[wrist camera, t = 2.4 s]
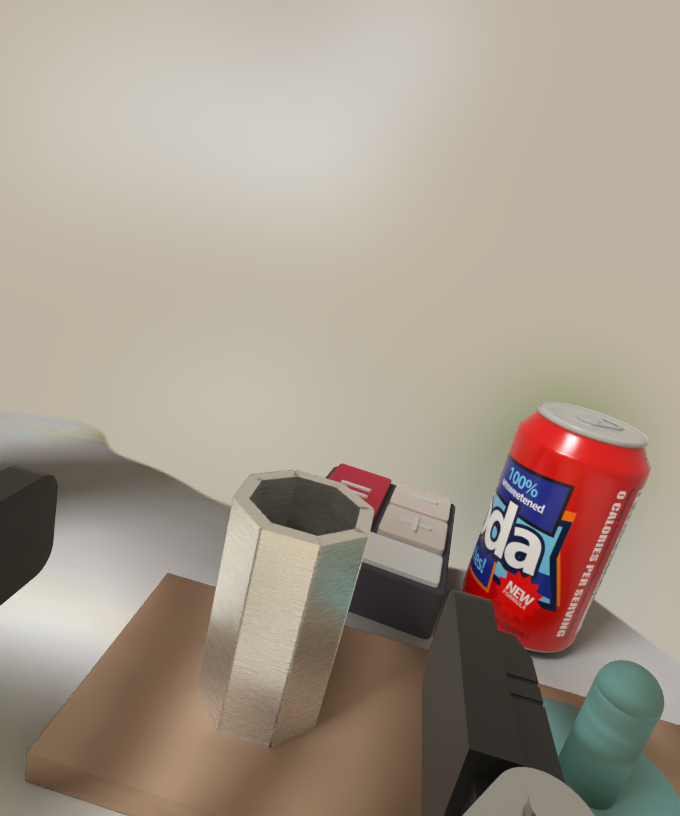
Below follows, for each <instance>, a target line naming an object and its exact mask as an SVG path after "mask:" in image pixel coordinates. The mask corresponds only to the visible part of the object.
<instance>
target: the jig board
mask: <svg viewBox="0 0 680 816" xmlns="http://www.w3.org/2000/svg"><path fill="white" fill-rule="evenodd" d="M215 590H216V587H213V586H210V585H206V584H203V583H200V582H196V581H193V580H190V579H186V578H183V577H180V576H176V575H173V574H170V573H167V574H166V576H165V577H164V578H163V579H162V581H161V582H160V583H159V585H158V586H157V587H156V588H155V590H154V591H153V592H152V593H151V595H150V596H149V597H148V599H147V600H146V601H145V602H144V604H143V605H142V606H141V607H140V609H139V610H138V611H137V613H136V614H135V615H134V616H133V618H132V619H131V620H130V622H129V623H128V624H127V625H126V627H125V628H124V629H123V630H122V632H121V633H120V634H119V636H118V637H117V638H116V639H115V641H114V642H113V643H112V644H111V646H110V647H109V648H108V650H107V651H106V652H105V653H104V655H103V656H102V657H101V658H100V660H99V661H98V662H97V664H96V665H95V666H94V667H93V669H92V670H91V671H90V673H89V674H88V675H87V676H86V678H85V679H84V680H83V681H82V683H81V684H80V685H79V687H78V688H77V689H76V690H75V692H74V693H73V694H72V695H71V697H70V698H69V699H68V701H67V702H66V703H65V704H64V706H63V707H62V708H61V709H60V711H59V712H58V713H57V715H56V716H55V717H54V718H53V720H52V721H51V722H50V723H49V725H48V726H47V727H46V729H45V730H44V731H43V732H42V734H41V735H40V736H39V738H38V739H37V740H36V741H35V743H34V744H33V745H32V746H31V748H30V749H29V750H28V752H27V759H26V773H25V781H27V782H30V783H33V784H36V785H39V786H42V787H45V788H48V789H51V790H54V791H57V792H60V793H63V794H66V795H69V796H72V797H75V798H78V799H81V800H84V801H87V802H90V803H93V804H96V805H99V806H102V807H105V808H108V809H111V810H114V811H117V812H120V813H123V814H126V815H129V816H422V684H423V676H424V670H425V665H426V661H427V657H428V654H429V651H428V650H425V649H421V648H418V647H415V646H411V645H408V644H404V643H401V642H398V641H394V640H391V639H388V638H384V637H381V636H378V635H374V634H371V633H368V632H364V631H361V630H358V629H354V628H351V627H347V626H344V627H343V631H342V634H341V638H340V641H339V645H338V648H337V652H336V656H335V659H334V663H333V666H332V670H331V673H330V677H329V680H328V684H327V687H326V691H325V694H324V698H323V701H322V705H321V708H320V712H319V716H318V719H317V723H316V726H315V727H314V729H312V730H310V731H308V732H306V733H303V734H301V735H299V736H297V737H295V738H292V739H290V740H288V741H286V742H284V743H282V744H279V745H277V746H275V747H273V748H271V747H270V745H269V748H266V747H263V746H260V745H256V744H253V743H250V742H247V741H244V740H241V739H238V738H234V737H231V736H228V735H225V734H222V733H219V730H218V731H217V730H216V728H215V726H214V725H213V723H212V721H211V719H210V717H209V715H208V713H207V711H206V709H205V707H204V705H203V704H202V702H201V700H200V698H199V696H198V694H197V684H198V679H199V674H200V669H201V663H202V658H203V653H204V648H205V642H206V637H207V632H208V627H209V621H210V616H211V611H212V606H213V600H214V595H215ZM538 687H540V691H541V695H542V698H543V707H545V710H546V713H547V717H548V721H549V725H550V728H551V732H552V736H553V740H554V743H555V747H556V751H557V755H558V758H559V762H560V766H561V770H562V773H563V777H564V781H565V784H566V785H567V786H568V787H570V788H571V789H572V790H573V791H574V792H575V793H576V794H578V795H579V796H580V798H581V799H582V800H583V801H584V802H585V803H586V804H587V806H588V807H589V808H590V810H591V811H592V812H593V814H594V815H595V816H680V725H676V724H673V723H670V722H666V721H663V720H660V717H661V715H662V712H663V708H664V697H663V693H662V690H661V687H660V685H659V683H658V682H657V680H656V679H655V677H654V676H653V675H652V674H651V673H650V672H649V671H648V670H646V669H645V668H644V667H642V666H640V665H638V664H636V663H633V662H630V661H622V660H620V661H614V662H610V663H608V664H606V665H605V666H604V667H603V668H601V670H600V671H599V672H598V674H597V676H596V678H595V680H594V682H593V684H592V686H591V688H590V690H589V693H588V695H587V697H582V696H579V695H576V694H572V693H569V692H566V691H562V690H559V689H556V688H552V687H549V686H545V685H542V684H539V683H538Z"/></svg>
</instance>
